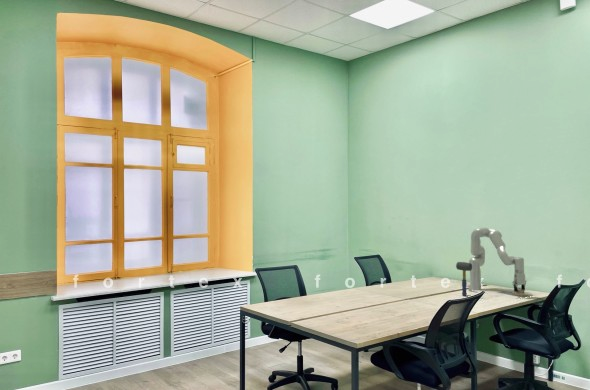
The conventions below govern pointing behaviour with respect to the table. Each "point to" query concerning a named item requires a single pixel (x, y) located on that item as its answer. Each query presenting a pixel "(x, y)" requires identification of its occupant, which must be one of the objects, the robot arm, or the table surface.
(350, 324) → the table surface
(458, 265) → the rubber mallet
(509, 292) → the base plate
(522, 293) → the wooden collar
